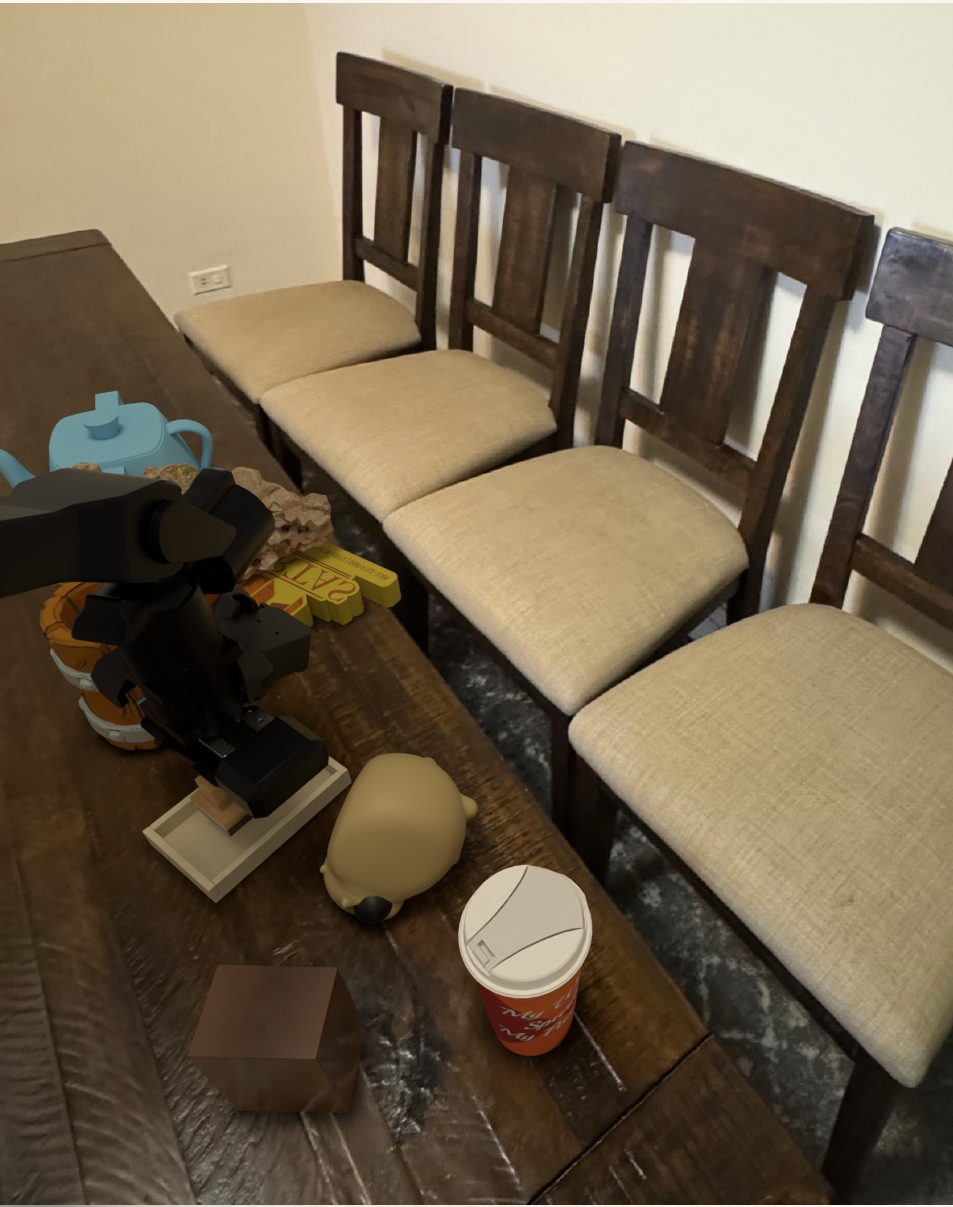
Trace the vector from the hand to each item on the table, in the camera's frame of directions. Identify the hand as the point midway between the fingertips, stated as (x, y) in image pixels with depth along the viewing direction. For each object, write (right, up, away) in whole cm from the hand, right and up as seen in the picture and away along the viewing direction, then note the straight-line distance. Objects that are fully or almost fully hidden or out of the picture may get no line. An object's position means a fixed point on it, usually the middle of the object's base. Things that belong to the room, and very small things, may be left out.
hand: (239, 782), depth 64 cm
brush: (0, -1, +1) cm, 2 cm away
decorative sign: (-1, +19, +24) cm, 31 cm away
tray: (0, -3, +3) cm, 4 cm away
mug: (-9, +5, +11) cm, 15 cm away
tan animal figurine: (+13, -7, 0) cm, 14 cm away
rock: (-10, +15, +18) cm, 25 cm away
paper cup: (+23, -14, -7) cm, 28 cm away
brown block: (+9, -16, -10) cm, 21 cm away
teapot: (-23, +21, +27) cm, 42 cm away
